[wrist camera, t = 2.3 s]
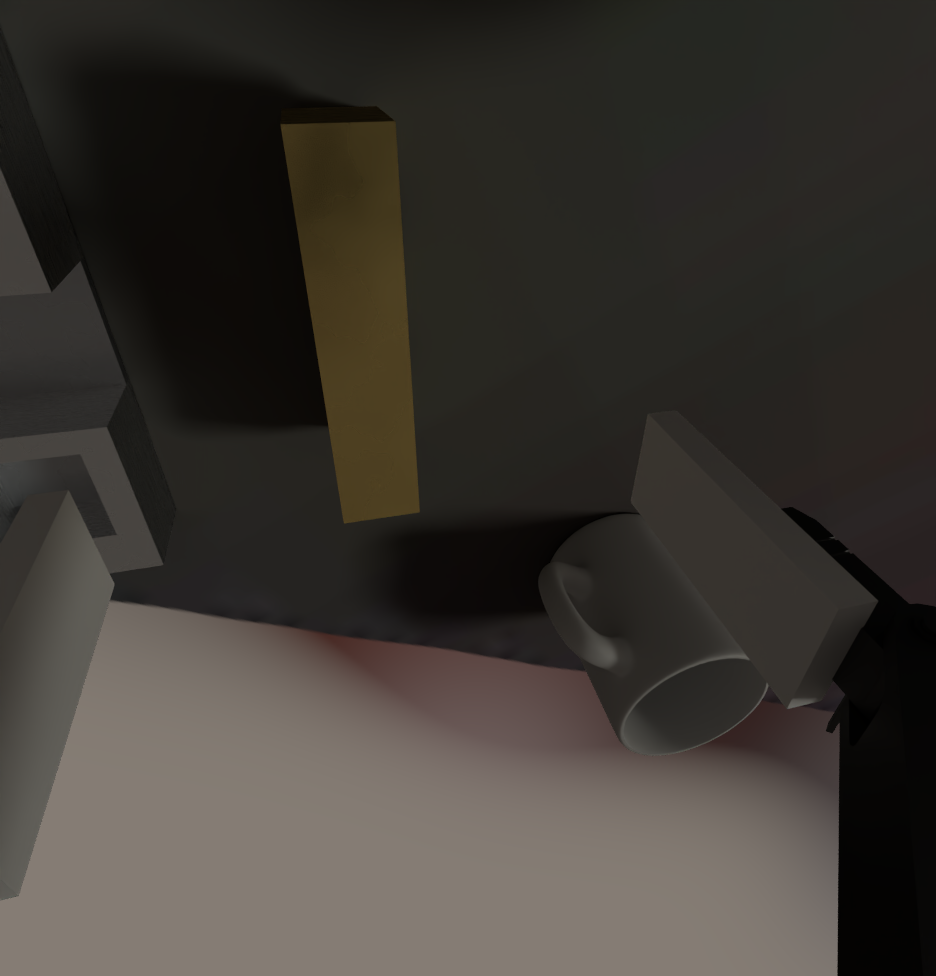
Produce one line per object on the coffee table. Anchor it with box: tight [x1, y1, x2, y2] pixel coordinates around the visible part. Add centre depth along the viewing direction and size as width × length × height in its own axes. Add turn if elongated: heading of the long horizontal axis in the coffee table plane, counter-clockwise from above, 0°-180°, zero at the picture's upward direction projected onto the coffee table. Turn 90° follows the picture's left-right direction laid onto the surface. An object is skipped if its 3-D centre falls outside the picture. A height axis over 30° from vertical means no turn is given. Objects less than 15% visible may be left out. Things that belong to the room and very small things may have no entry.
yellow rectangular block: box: [281, 106, 420, 523], centre depth 23 cm, size 14×3×7 cm, turn 0°
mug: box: [538, 514, 768, 756], centre depth 35 cm, size 12×8×11 cm
